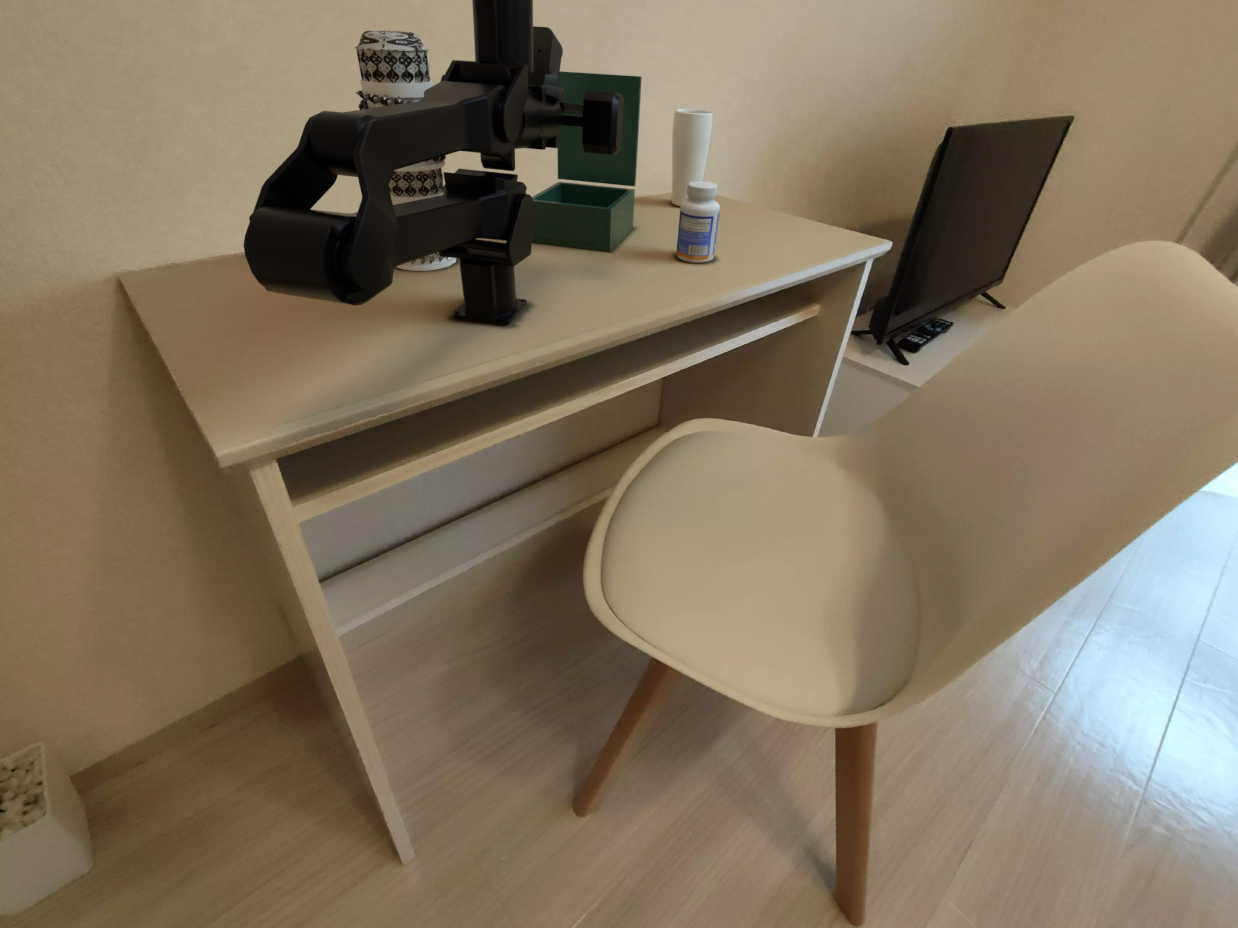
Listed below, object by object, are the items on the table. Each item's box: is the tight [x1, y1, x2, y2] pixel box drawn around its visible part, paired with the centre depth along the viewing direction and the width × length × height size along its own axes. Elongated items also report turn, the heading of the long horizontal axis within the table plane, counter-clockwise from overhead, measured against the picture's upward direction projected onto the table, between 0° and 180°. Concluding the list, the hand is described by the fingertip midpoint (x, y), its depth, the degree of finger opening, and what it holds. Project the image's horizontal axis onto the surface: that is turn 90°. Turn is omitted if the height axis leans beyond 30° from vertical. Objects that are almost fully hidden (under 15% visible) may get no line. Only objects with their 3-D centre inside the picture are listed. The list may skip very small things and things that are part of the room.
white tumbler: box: [670, 108, 714, 207], centre depth 108 cm, size 7×7×15 cm
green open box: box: [531, 181, 636, 252], centre depth 92 cm, size 14×13×6 cm
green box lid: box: [556, 70, 643, 187], centre depth 93 cm, size 14×13×4 cm
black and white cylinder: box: [353, 30, 458, 272], centre depth 74 cm, size 9×9×25 cm
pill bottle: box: [675, 180, 721, 264], centre depth 84 cm, size 5×5×10 cm
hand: (568, 118), depth 78 cm, fingers open, 9 cm apart
